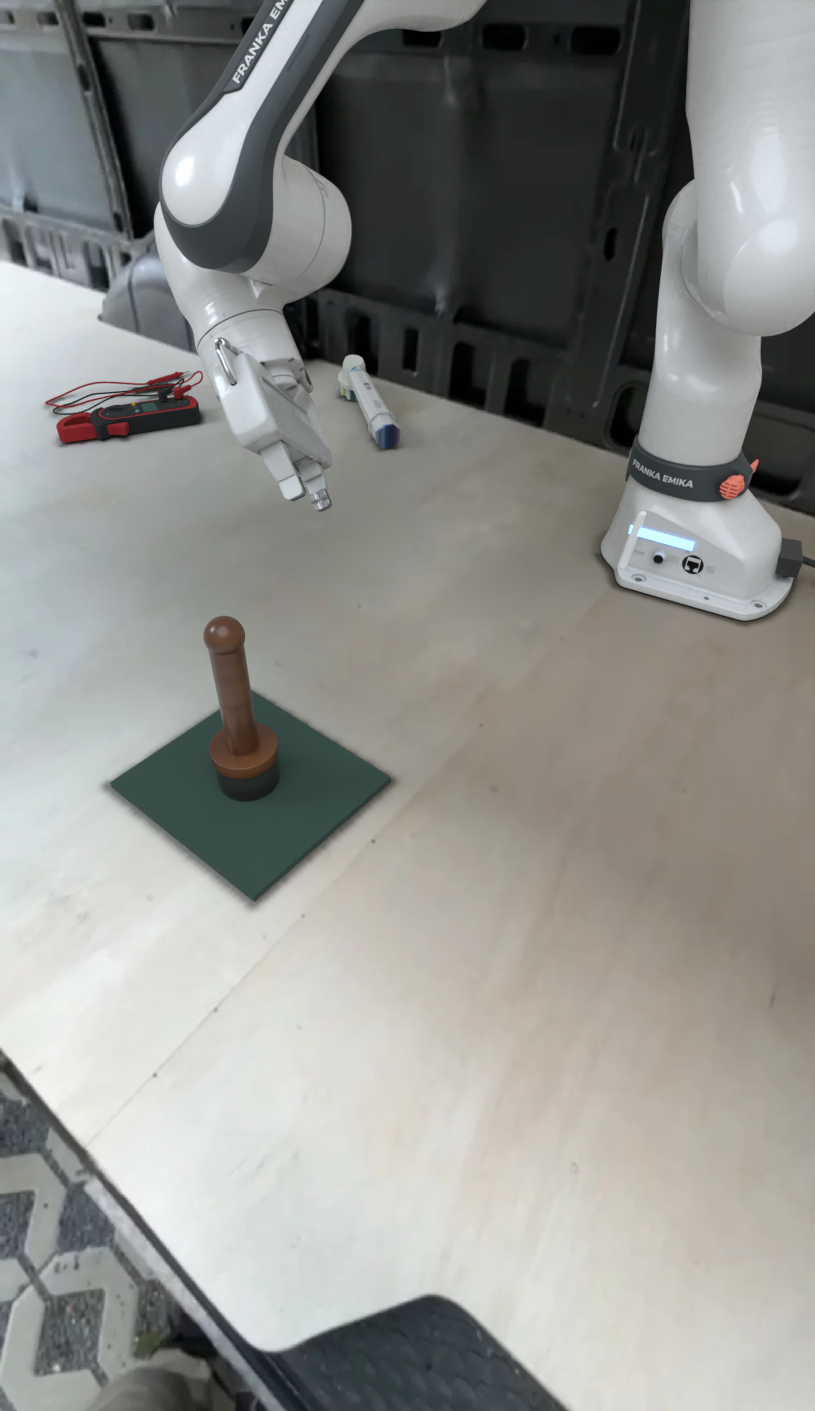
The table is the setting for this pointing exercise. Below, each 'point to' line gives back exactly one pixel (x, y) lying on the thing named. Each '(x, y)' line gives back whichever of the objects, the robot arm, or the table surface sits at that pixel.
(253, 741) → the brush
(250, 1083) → the table surface
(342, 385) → the toothbrush head
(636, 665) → the table surface
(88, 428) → the digital clamp meter
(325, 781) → the mat
